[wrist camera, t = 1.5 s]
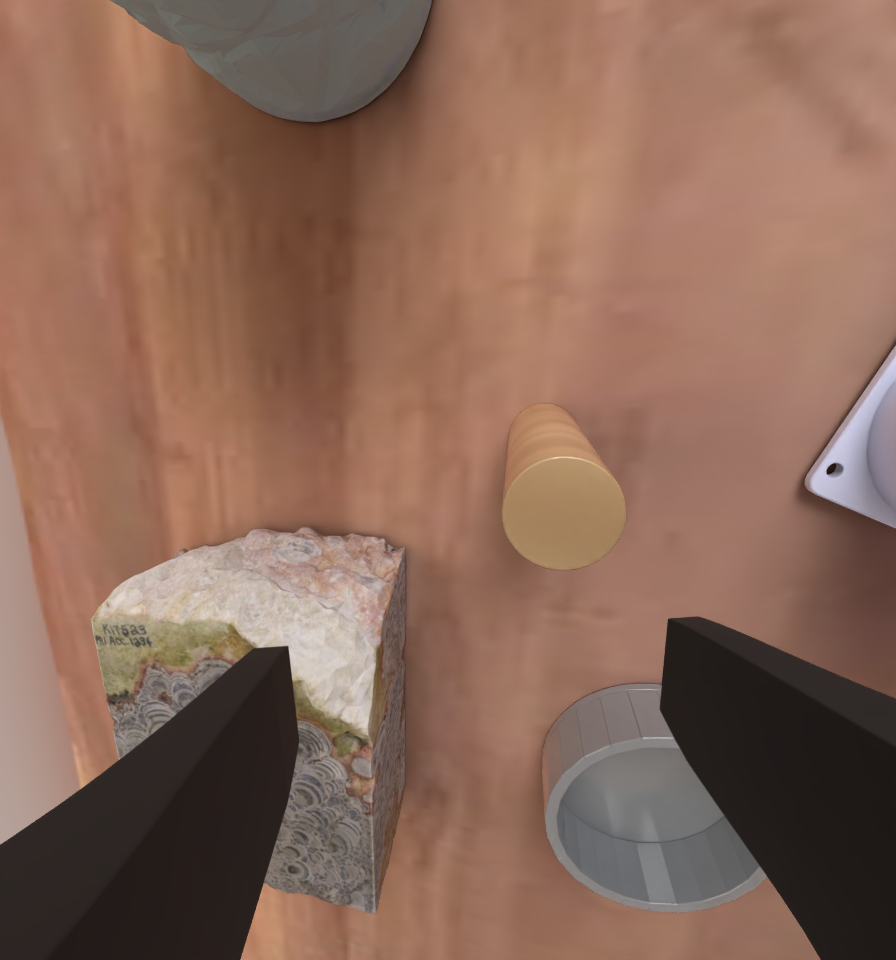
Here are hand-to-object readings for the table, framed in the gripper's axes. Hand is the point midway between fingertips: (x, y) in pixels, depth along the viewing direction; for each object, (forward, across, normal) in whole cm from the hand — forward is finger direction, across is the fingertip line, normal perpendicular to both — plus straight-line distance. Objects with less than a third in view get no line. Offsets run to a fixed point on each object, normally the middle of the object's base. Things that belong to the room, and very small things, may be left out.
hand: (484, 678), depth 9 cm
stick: (+10, -4, -3) cm, 11 cm away
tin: (+9, -9, +12) cm, 18 cm away
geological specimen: (+13, +7, +8) cm, 17 cm away
